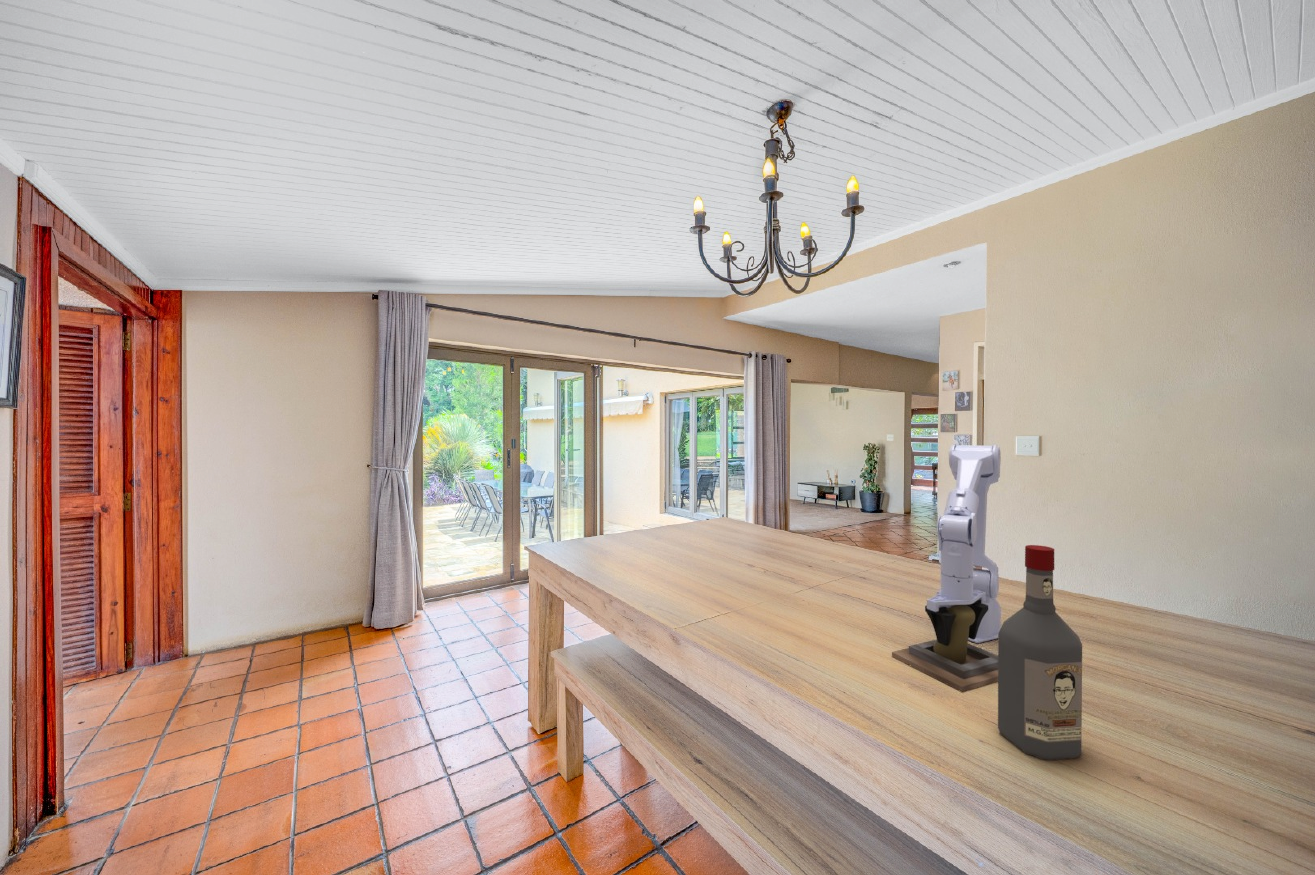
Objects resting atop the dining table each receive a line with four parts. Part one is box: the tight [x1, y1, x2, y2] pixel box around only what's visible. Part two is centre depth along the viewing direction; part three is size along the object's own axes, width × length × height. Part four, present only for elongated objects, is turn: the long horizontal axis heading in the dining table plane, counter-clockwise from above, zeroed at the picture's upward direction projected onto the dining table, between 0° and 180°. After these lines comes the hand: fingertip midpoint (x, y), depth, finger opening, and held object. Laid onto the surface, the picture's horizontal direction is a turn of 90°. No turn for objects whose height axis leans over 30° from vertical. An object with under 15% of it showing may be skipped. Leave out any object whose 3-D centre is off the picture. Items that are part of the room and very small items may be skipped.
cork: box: [933, 605, 975, 663], centre depth 105 cm, size 6×6×11 cm
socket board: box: [891, 638, 998, 693], centre depth 106 cm, size 18×16×2 cm
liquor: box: [997, 544, 1083, 761], centre depth 80 cm, size 9×9×30 cm
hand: (956, 640), depth 106 cm, fingers open, 7 cm apart
